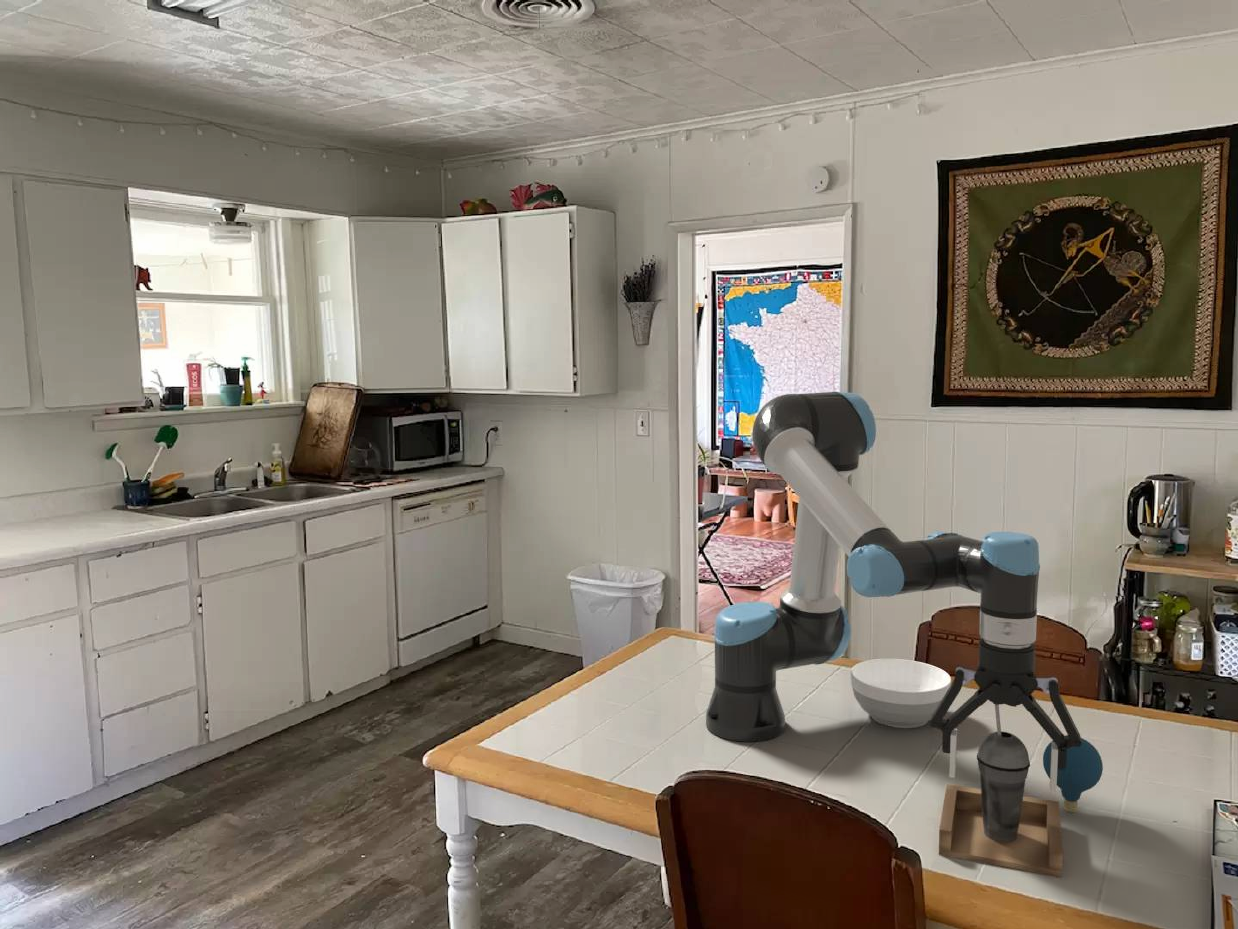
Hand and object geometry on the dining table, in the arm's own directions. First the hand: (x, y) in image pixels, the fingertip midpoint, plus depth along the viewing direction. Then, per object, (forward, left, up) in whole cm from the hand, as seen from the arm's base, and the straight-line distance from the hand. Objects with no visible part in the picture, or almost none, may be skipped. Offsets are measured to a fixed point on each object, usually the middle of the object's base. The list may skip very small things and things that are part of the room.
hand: (1001, 781), depth 137 cm
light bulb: (+10, +13, -9) cm, 19 cm away
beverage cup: (0, 0, -8) cm, 8 cm away
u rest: (0, 0, -9) cm, 9 cm away
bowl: (-19, +42, -9) cm, 47 cm away
